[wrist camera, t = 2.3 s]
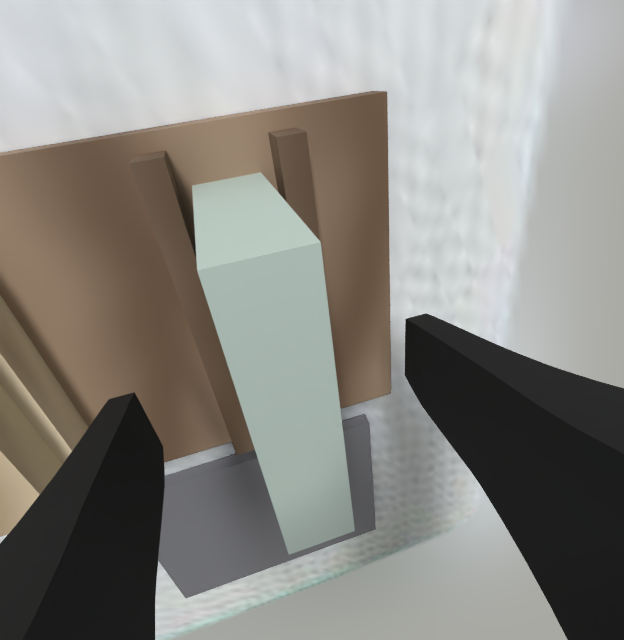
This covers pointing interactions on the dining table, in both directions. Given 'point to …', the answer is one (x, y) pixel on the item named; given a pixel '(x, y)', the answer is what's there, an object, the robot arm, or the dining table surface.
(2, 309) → the lower pine offcut
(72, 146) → the walnut rack
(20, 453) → the upper pine offcut
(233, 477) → the charcoal mat
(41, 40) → the dining table surface
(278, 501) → the sage panel
